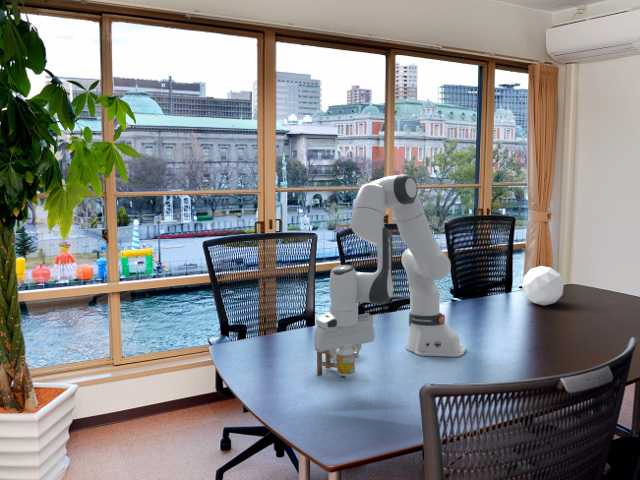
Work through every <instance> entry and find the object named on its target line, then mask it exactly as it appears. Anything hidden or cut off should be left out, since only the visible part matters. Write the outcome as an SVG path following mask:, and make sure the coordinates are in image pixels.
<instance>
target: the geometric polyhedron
mask: <svg viewBox="0 0 640 480" xmlns="http://www.w3.org/2000/svg"><path fill="white" fill-rule="evenodd" d="M564 285H565V283H564V281H563V278H562V274H561V273H559V272H558V271H557V270H555V269H554V268H552V267H549V266H544V265H539V266H537V267H533V268H530V269H529V270H528V271H527V273H526V274H525V275H524V276H523V281H522V289H523V293H524V297H525V298H527V299H528V300H529V301H531V302H532V303H533V304H536V305H541V306H545V307H546V306H547V305H552V304H555V303H556V302H557V301H558V300H559V299H560V298H561V297H562V296H563V293H564Z"/></svg>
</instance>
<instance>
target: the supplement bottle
mask: <svg viewBox="0 0 640 480" xmlns="http://www.w3.org/2000/svg"><path fill="white" fill-rule="evenodd" d="M351 347H352V346H351V343H349V344H345V346H344V347H342V348H339V349H337V356H339V361H337V362H336V363H337V368H336V372H337V374H338V375H339V376H341V375H342V376H346V377H349V376H353V375H354V374H356V364H355V359H356V358H354V350H353V349H352V348H351Z"/></svg>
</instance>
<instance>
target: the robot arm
mask: <svg viewBox="0 0 640 480" xmlns="http://www.w3.org/2000/svg"><path fill="white" fill-rule="evenodd" d="M391 208H392V213H393V218H394V220H395V223H396V226H397V229H398V232H399V235H400V238H401V240H402V242H403V243H404V244H405V245H406V247H407V248H406V249H405V250H404V251H403V252H402V255H401V264H402V266H403V268H404V270H405V273H406V279H407V283H408V287H409V293H410V294H409V297H410V298H409V300H410V303H409V305H410V310H409V313H408V327H409V330H408V331H409V332H408V335H407V336H408V337H407V341H406V345H405V349H406V350H407V351H408V352H409V351H410V352H412V353H414V354H415V355H417V356H423V357H424V356H425V357H426V356H427V357H455V358H457V357H458V358H459V357H461V356H463V355H464V354H465V353H466V350H467V348H466V346H465V345H464V344H463V343H460V342H461V341H460V336H459V334H458V332H457V331H456V330H454V329H453V328H452V327H451V326H449V325H448V324H447V323H446V321H445V320H446V317H445V316H446V315H445V313H444V314H443V313H442V312H440V305H441V304H440V303H441V302H440V301H441V299H440V296H441V293H440V291H439V288H438V287H437V285H436V281H439V280H443V279H445V278H447V277H448V275H449V274H450V272H451V270H452V269H451V267H452V264H451V260H450V259H449V257H448V256H447V255H446V254H445V253H444V251H443V249H441V247H440V245H439V243H438V242H437V239H436V238H435V236H434V234H433V233H432V230H431V228H430V225H429V222H428V219H427V217H426V213H425V210H424V208H423V205H422V202H421V200H420V198H419V196H418V184H417V183H416V181H415V179H414V178H413V177H412V176H410V174H403V173H401V174H398V175H389V176H384V177H382V178H378V179H376V180H370V181H368V182H366V183H364V184H363V185H362V186H361V187H360V188H359V190H358V192H357V194H356V196H355V200H354V201H353V207H352V209H351V210H352V211H351V215H350V228H351V230H352V233H354V234H355V236H356V237H358V238H359V239H361V240H363V241H365V242H366V243H368V244H369V243H370V244H372V245H374V246H375V247H376V249H377V270H376V271H375V272H365V271H364V272H363V271H361V272H360V271H356V268H355V267H354V266H353V265H350V264H340V265H336V266H334V267H333V268H331V270H330V276H329V282H328V283H329V287H328V288H329V290H328V291H329V293H328V294H329V299H330V305H329V311H327V312H326V313H324V314H322V315H320V316H318V317H316V319H315V323H316V325H317V326H316V327H315V329H314V334H313V336H314V337H313V345H314V349H315V348H316V349H318V350H319V351H326V350H329V352H330V353H331V355H332V362H333V363H337V361H339V356H337V355H335V353H334V352H336V348H342V347H344V346H345V344H349V343H351V346H352V345H355V346H356V348H355V350H354V358H355V359H357V358H359V355H360V351H361V349H362V344H368V343H373V342H374V340H375V337H376V336H375V334H376V333H375V328H374V316H373V315H372V314H370V313H369V312H368V313H364V314H363V313H362V314H359V305H358V302H359V303H370V304H374V305H381V306H383V305H384V304H385V303H387V302H389V301H390V300H391V299H392V297H393V295H394V283H393V281H394V280H393V265H392V264H393V255H392V236H391V233H390V230H389V228H387V227H386V226H385V221H384V218H385V213H386V211H385V210H386V209H391Z"/></svg>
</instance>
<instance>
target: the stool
mask: <svg viewBox="0 0 640 480" xmlns="http://www.w3.org/2000/svg"><path fill="white" fill-rule="evenodd" d="M351 348H352V349H353V350H355V348H356V346H355V345H352V347H351ZM337 349H339V348H336V352H334V353H335V355H337ZM314 350H315V351H316V376H317V377H321V376H323V367H325V368H326V369H330V368H334V369H335V368H336V369H337V362H331V359H332V355H331V353H330V352H329V350H326V351H319V350H318V349H316V348H315V347H314ZM323 355H325V356H324V357H325V358H324V359H325V361H323ZM340 379H342V380H343V379H347V376H342V375H340Z"/></svg>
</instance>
